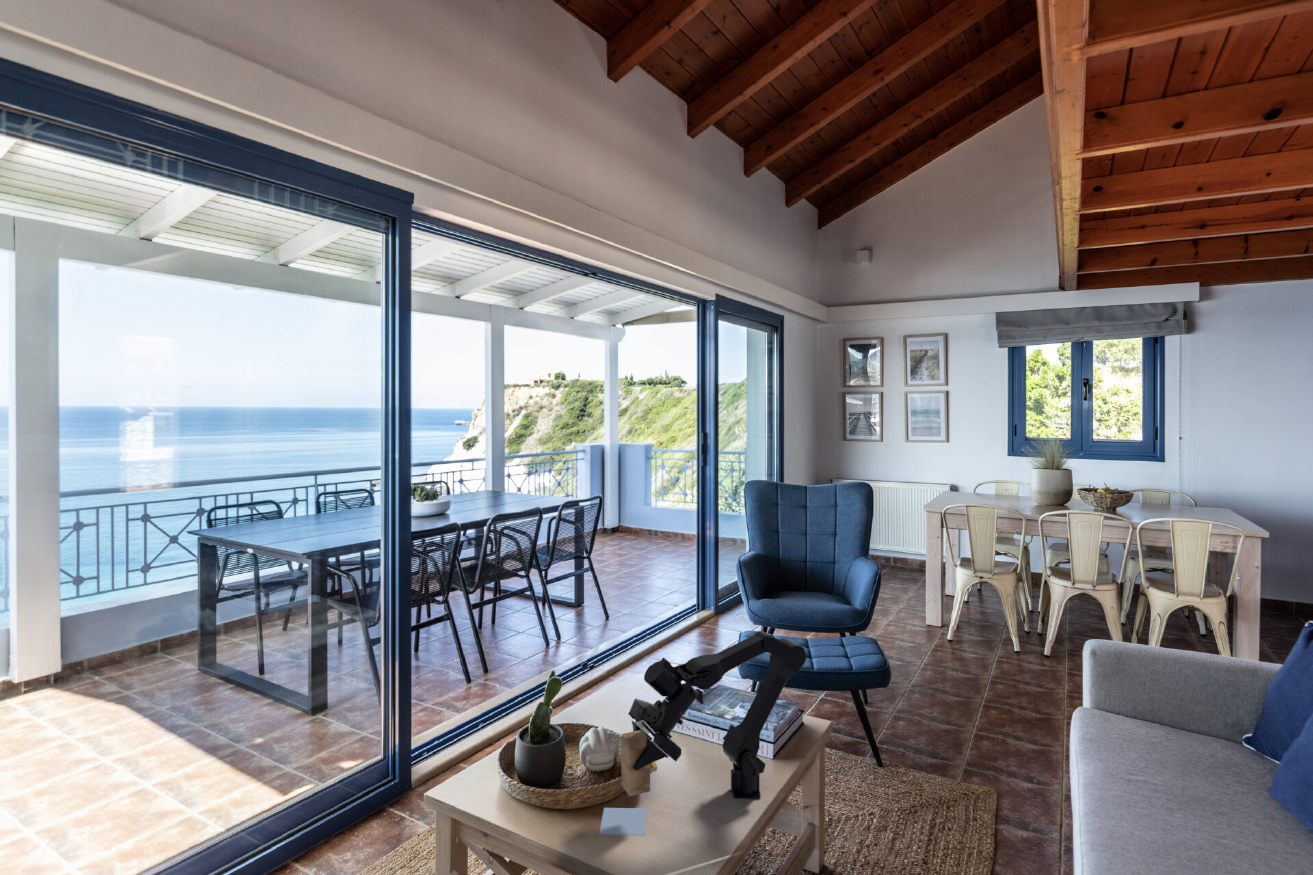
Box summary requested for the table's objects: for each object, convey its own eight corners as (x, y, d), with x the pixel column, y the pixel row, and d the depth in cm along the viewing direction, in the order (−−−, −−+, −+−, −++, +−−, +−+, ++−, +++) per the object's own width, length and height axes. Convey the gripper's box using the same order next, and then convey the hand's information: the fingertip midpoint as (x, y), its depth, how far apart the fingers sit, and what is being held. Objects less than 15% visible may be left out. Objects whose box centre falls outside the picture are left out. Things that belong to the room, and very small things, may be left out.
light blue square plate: (646, 810, 162) (646, 808, 162) (644, 836, 152) (644, 834, 152) (604, 809, 163) (604, 807, 163) (599, 836, 153) (599, 833, 153)
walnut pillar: (641, 780, 162) (641, 729, 161) (650, 791, 157) (650, 739, 157) (621, 785, 160) (621, 733, 159) (629, 796, 155) (629, 743, 155)
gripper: (635, 672, 167) (592, 726, 164) (668, 702, 150) (621, 763, 146) (665, 699, 171) (624, 752, 167) (700, 731, 154) (655, 791, 150)
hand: (630, 763), depth 158 cm, fingers closed on walnut pillar, 5 cm apart
